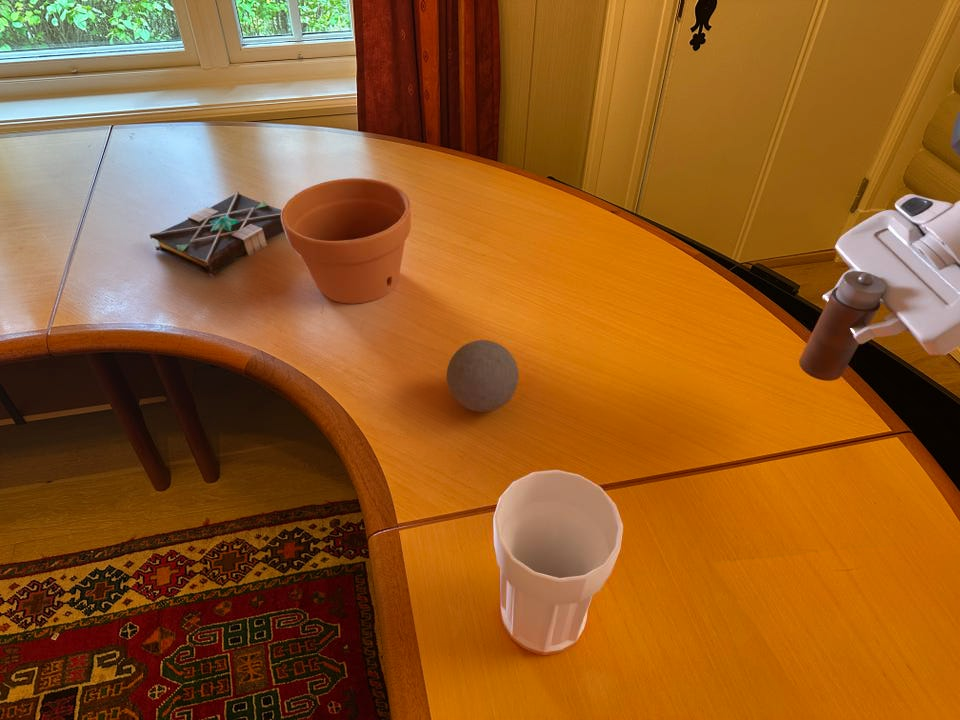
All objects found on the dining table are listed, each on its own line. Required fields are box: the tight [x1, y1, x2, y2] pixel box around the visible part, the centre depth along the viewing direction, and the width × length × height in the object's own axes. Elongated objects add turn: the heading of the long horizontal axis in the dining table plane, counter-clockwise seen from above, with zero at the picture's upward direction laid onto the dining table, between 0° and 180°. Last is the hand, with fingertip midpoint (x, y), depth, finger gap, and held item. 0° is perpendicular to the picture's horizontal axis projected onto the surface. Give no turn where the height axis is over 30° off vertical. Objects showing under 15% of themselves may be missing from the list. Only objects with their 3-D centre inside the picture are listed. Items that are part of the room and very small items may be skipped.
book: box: [149, 190, 285, 279], centre depth 118 cm, size 22×17×5 cm
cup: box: [492, 469, 624, 656], centre depth 59 cm, size 11×11×17 cm
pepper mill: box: [798, 271, 886, 382], centre depth 73 cm, size 5×5×14 cm
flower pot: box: [281, 177, 412, 305], centre depth 104 cm, size 21×21×15 cm
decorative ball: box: [446, 339, 519, 413], centre depth 84 cm, size 10×10×10 cm
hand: (839, 319), depth 73 cm, fingers closed on pepper mill, 5 cm apart
